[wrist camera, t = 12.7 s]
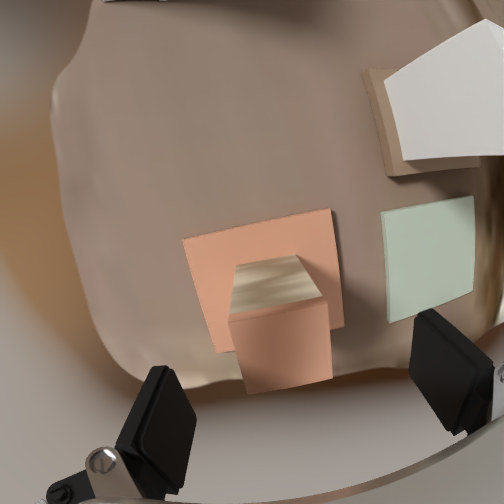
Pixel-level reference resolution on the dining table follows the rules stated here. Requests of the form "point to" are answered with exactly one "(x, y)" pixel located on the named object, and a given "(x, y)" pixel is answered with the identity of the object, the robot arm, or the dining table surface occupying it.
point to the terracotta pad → (261, 248)
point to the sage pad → (428, 255)
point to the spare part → (279, 325)
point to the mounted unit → (442, 104)
